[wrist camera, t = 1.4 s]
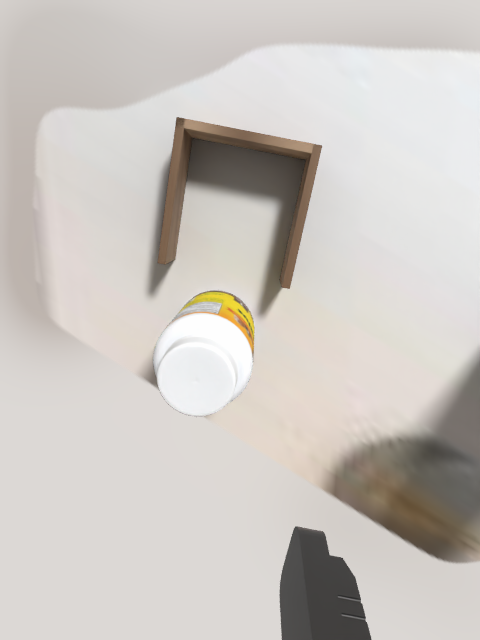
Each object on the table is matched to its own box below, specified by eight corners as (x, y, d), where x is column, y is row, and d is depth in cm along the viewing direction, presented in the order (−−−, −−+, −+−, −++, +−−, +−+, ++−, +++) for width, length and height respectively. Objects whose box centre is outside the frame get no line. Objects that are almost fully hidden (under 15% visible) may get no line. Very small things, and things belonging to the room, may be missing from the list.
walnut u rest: (315, 153, 26) (322, 145, 23) (286, 281, 28) (289, 288, 25) (186, 128, 26) (176, 117, 23) (168, 257, 28) (157, 263, 25)
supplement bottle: (257, 357, 30) (256, 430, 20) (184, 362, 30) (147, 434, 20) (252, 285, 28) (247, 323, 18) (175, 290, 28) (131, 330, 19)
